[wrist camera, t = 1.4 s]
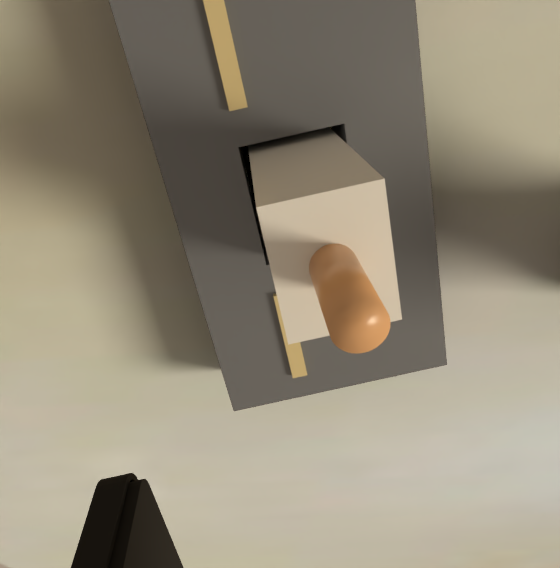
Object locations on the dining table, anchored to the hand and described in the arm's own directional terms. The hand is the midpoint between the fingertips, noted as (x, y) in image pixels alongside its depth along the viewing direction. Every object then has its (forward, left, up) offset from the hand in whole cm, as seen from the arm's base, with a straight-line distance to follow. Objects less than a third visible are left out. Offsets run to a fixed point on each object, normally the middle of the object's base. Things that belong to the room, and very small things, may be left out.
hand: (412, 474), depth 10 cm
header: (0, 0, -21) cm, 21 cm away
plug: (0, 0, -21) cm, 21 cm away
